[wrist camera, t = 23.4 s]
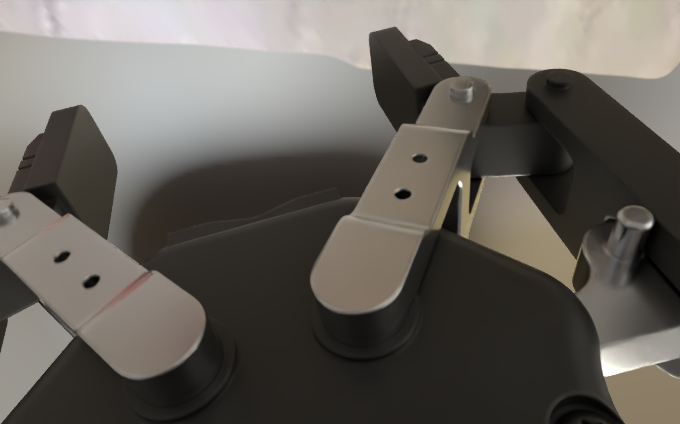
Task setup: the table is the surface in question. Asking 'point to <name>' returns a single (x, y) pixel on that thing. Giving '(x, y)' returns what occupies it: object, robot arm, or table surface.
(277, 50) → the table surface
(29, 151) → the robot arm
